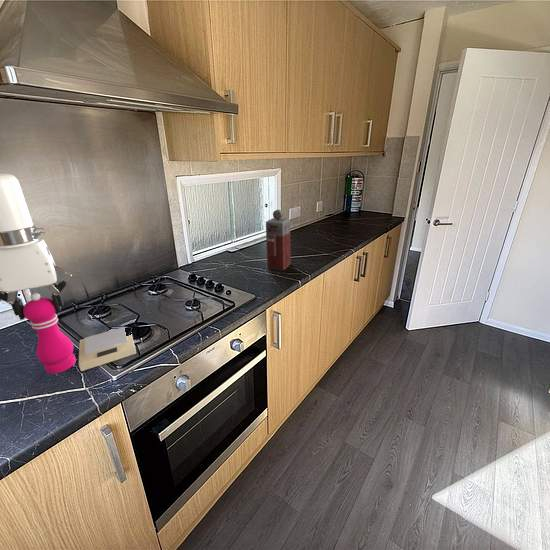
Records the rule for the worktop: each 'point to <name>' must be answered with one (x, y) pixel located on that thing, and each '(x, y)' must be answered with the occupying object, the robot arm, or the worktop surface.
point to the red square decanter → (278, 241)
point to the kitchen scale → (105, 348)
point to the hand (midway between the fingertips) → (41, 312)
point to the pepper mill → (49, 335)
